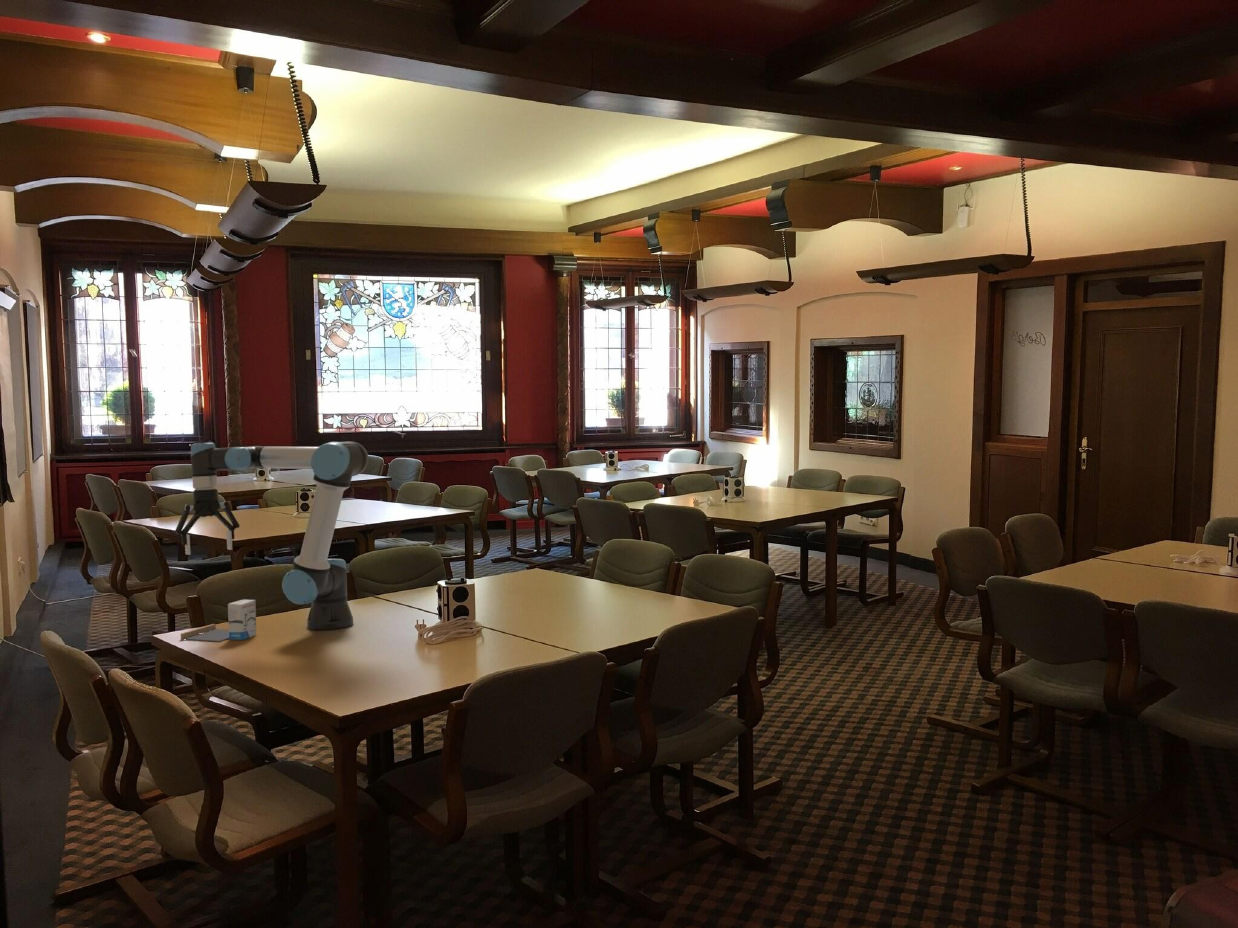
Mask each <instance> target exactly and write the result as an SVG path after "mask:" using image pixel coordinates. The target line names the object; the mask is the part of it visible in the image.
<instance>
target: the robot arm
mask: <svg viewBox="0 0 1238 928" xmlns="http://www.w3.org/2000/svg"><path fill="white" fill-rule="evenodd" d="M190 462H191V471H192V476H191V478H192V487H193V489H194V490H193V491H192V493H193V504H192V505H191V504H183V512H182V514H181V516H180V519H179V520H178V523H177V525H176V528H175V530H174V533H175V534H178V535H180V537H181V544H182V545H183V546H184V548H185V549H184V551H185V552H184V553H185V555H192V554H191V542H190V541H191V539H190V534H188V533H189V532H190V531H191V529H192V528H193V527H194V525H195V524H196V522H197V521H198V520H199V519H200V518H205V517H215V518H216V519H218V520H219V521H220V522H221V523H222V524H223V525H224V526H225V527H226V528H227V529H226V530H225V532H226V533H225V534H226V549H227V550H229V551H232V550H233V540H235V530H236V529H238V528H240V524H239V522H238V520H237V518H236V517H235V515H234V514H233V512H232V509H230V505H229V502H228V501H222V502H219V492H218V488H217V487H218V478H217V476H218V475H217V473H218V471H241V470H242V471H243V470H246V469H284V470H285V469H288V470H289V469H290V470H291V469H292V470H293V469H295V470H296V469H299V470H312V472H313V478H312V480H313V482H314V483H315V485H316V486H315V491H314V495H313V500H312V505H311V507H310V512H309V516H308V521H307V525H306V528H305V532H304V533H305V534H304V537H303V542H302V546H301V550H300V554H299V555H298V556H296V557H295V558H294V559H293V561H292V568H291V570H289V571H288V572H287V573H285V575H284V577H283V578H282V582H281V587H282V588H281V589H282V591H283V594H285V597H286V598H287V599H288V600H289V601H290V602H292V603H293V604H295V605H301V606H302V605H307V604H311V607H310V609H309V613H308V617H307V620H306V627H307V629H309V630H316V631H322V630H324V631H328V630H338V629H343V628H347V627H348V628H349V627H351V626H353V625H354V616H353V614H352V611H351V609H350V608H351V607H350V605H349V602H348V582H347V581H348V580H347V579H348V578H347V576H348V574H347V571H348V569H347V563H346V560H344V559H342V558H328V556H329V552H330V548H331V545H332V540H333V537H334V532H335V529H336V524H337V521H338V516H339V512H340V508H341V504H342V499H343V495H344V492H345V491H346V490H347V489H349V488H350V487H351V482H352V479H353V477H355V476H358V475H360V474H362V472H364V471H365V469H367V466H368V463H369V454H368V451H367V450H366V448H365V447H364V446H363V445H362V444H360V443H359V442H355V441H329V442H326V443H323V444H321V445H319V446H263V445H262V446H261V445H252V446H233V447H220V448H218V447H216V444H215V443H214V442H197V443H196V442H195V443H193V444H191V446H190ZM219 508H221V509H223V511H224V513H225V514H226V516H227V518H228V520H227V519H226V518H225V516H224V515H222V513H221V512H220V511H219ZM192 510H193V511H195V512H194V513H193V515H192V517H191V518H190V520H188V522H187V519H188V517H189V515H190V512H192ZM229 521H230V522H229ZM186 522H187V524H186ZM185 524H186V525H185Z"/></svg>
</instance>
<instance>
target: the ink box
mask: <svg viewBox="0 0 1238 928" xmlns="http://www.w3.org/2000/svg"><path fill="white" fill-rule="evenodd" d="M256 606H257V605H256V599H239V600H237V601H233V602H229V603H228V604H227V614H228V615H227V618H228V629H229V639H228V641H243V640H247V639H249V638H252V637H255V636H257V635H258V634H257V611H256V610H257V609H256Z"/></svg>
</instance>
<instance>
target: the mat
mask: <svg viewBox="0 0 1238 928" xmlns="http://www.w3.org/2000/svg"><path fill="white" fill-rule="evenodd" d="M216 626H217V625H216V623H212V624H208V625H205V626H202V627H198V628H195V629H192V630H188V631H186V632H182V633H180V640H181V639H186V640H185V641H193V642H195V641H197V642H211V643H212V642H213V643H221V642H223V641H224V642H225V641H227V640H229V628H227V629H225V628H216ZM210 630H211V631H210ZM203 632H204V633H203ZM199 633H203V634H199Z"/></svg>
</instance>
